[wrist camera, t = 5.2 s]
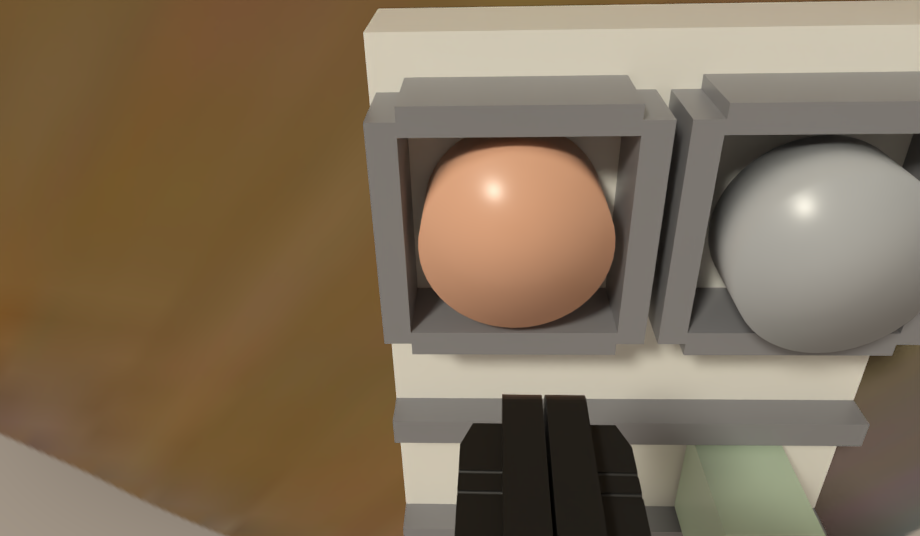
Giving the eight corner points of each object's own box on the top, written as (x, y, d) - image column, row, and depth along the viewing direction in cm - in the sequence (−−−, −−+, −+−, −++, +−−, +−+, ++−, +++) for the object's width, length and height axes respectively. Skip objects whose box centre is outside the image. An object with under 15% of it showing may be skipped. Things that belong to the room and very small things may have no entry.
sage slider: (690, 430, 25) (725, 534, 21) (774, 430, 25) (825, 535, 21) (674, 505, 27) (704, 612, 23) (752, 506, 27) (795, 613, 23)
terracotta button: (420, 123, 19) (412, 157, 17) (610, 121, 19) (624, 156, 17) (428, 282, 22) (422, 327, 20) (594, 282, 22) (606, 328, 20)
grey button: (725, 135, 18) (756, 173, 16) (932, 134, 18) (990, 171, 16) (694, 301, 21) (717, 352, 19) (873, 301, 21) (916, 353, 19)
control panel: (378, 8, 21) (347, 57, 16) (927, -1, 20) (1056, 47, 16) (414, 475, 31) (403, 584, 27) (777, 478, 31) (828, 590, 26)
